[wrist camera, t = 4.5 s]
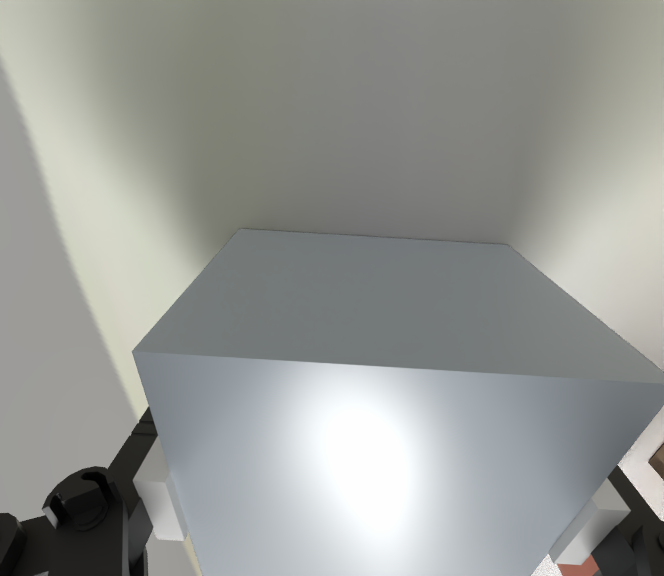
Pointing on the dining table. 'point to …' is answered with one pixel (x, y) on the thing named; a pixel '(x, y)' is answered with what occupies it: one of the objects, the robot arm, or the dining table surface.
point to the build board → (658, 462)
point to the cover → (385, 406)
